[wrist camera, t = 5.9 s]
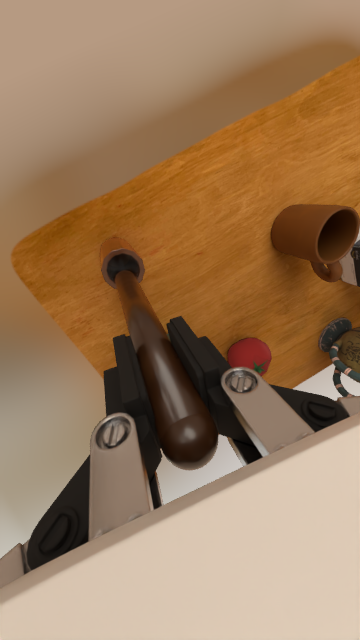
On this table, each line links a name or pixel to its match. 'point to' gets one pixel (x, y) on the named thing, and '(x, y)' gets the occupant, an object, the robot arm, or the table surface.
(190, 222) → the table surface
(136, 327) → the stick
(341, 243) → the mug
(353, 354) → the teapot
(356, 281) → the tea box
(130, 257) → the crock
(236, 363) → the tomato
